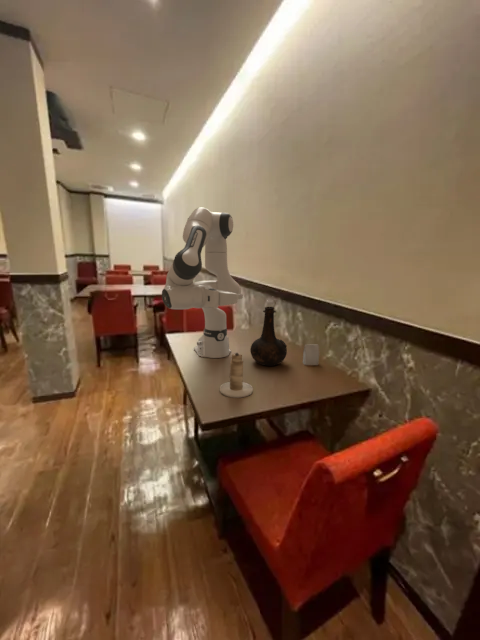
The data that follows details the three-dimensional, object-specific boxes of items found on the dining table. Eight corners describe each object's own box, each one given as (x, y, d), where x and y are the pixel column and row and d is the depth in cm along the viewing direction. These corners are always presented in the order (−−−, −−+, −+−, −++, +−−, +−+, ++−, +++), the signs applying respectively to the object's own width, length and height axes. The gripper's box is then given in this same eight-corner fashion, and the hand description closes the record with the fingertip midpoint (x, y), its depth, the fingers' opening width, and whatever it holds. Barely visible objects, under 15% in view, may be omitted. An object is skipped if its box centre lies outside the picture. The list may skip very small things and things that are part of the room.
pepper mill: (227, 386, 122) (228, 351, 119) (238, 384, 125) (239, 350, 122) (234, 391, 118) (234, 355, 115) (245, 388, 121) (246, 353, 118)
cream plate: (214, 387, 124) (214, 385, 123) (241, 381, 130) (241, 379, 130) (229, 400, 113) (230, 398, 113) (259, 393, 119) (259, 390, 119)
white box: (318, 365, 152) (319, 345, 150) (304, 365, 151) (306, 345, 149) (315, 362, 156) (317, 343, 154) (302, 362, 155) (303, 343, 153)
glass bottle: (285, 370, 143) (288, 311, 138) (247, 367, 147) (248, 309, 141) (287, 358, 160) (290, 305, 155) (252, 355, 164) (254, 303, 158)
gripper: (194, 300, 129) (223, 299, 136) (216, 308, 112) (248, 306, 119) (194, 285, 128) (223, 284, 135) (216, 291, 111) (249, 289, 118)
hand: (235, 294), depth 127 cm, fingers open, 8 cm apart
